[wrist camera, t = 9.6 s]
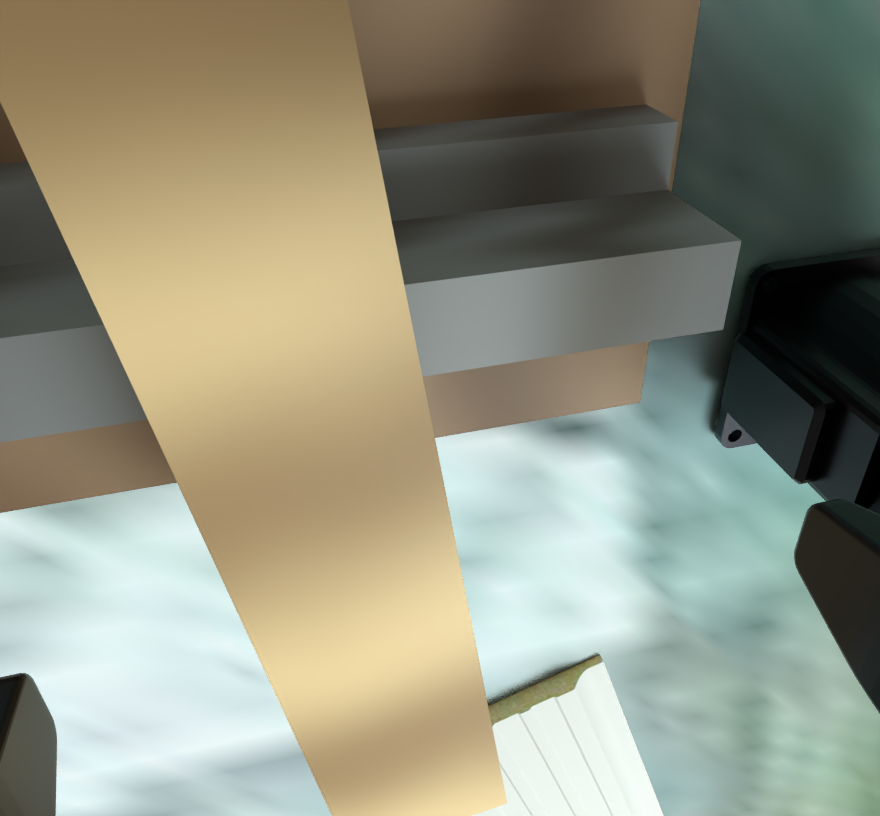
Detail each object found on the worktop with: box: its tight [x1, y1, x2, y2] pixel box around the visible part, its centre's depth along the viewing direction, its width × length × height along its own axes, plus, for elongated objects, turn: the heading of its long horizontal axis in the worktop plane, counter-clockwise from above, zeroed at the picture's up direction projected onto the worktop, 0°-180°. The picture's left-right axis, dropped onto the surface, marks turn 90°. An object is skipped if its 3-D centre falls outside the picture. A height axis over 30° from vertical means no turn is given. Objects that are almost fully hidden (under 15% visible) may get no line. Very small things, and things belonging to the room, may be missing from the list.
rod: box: [0, 0, 507, 816], centre depth 13 cm, size 20×4×4 cm, turn 9°
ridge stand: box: [0, 0, 742, 513], centre depth 17 cm, size 20×12×6 cm, turn 91°
